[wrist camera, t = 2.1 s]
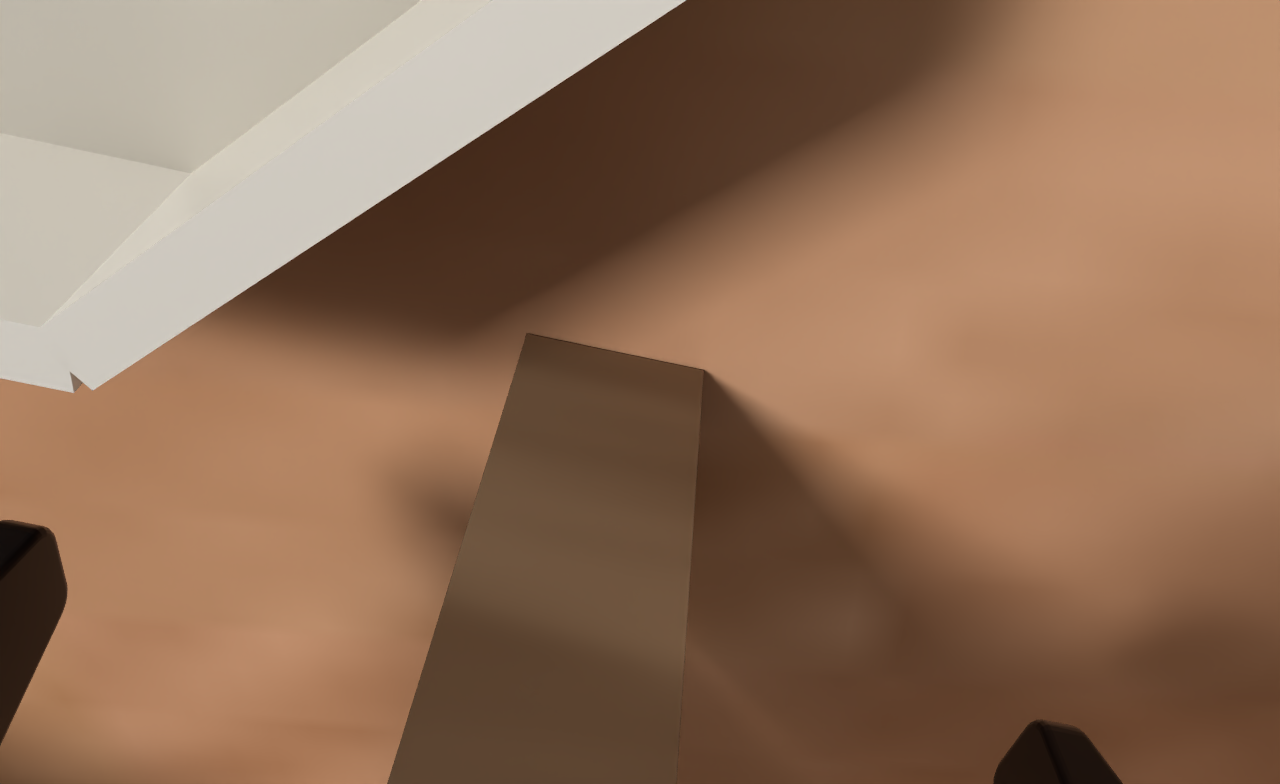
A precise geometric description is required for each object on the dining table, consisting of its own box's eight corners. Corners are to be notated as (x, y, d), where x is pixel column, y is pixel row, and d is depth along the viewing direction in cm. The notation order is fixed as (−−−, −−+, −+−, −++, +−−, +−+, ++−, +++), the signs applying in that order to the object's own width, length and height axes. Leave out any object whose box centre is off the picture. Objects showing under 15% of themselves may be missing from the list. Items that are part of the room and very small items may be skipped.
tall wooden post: (666, 496, 13) (579, 1396, 6) (507, 464, 12) (256, 1343, 6) (703, 370, 11) (640, 1331, 5) (526, 333, 11) (239, 1266, 5)
